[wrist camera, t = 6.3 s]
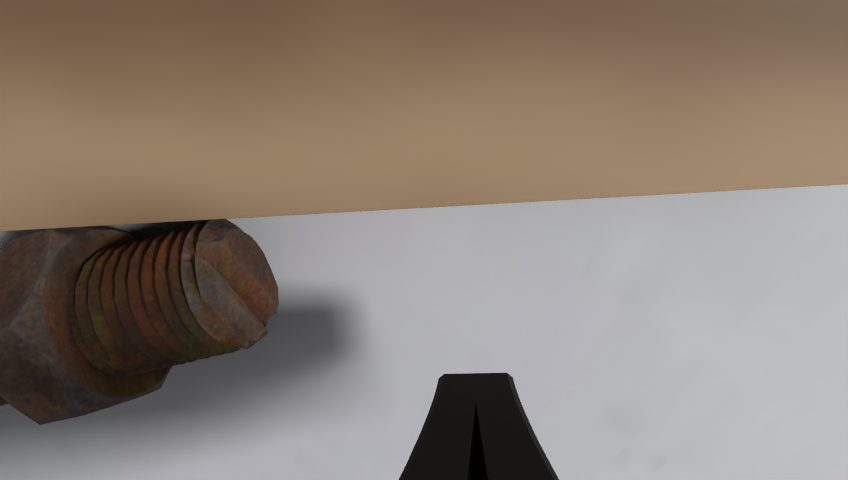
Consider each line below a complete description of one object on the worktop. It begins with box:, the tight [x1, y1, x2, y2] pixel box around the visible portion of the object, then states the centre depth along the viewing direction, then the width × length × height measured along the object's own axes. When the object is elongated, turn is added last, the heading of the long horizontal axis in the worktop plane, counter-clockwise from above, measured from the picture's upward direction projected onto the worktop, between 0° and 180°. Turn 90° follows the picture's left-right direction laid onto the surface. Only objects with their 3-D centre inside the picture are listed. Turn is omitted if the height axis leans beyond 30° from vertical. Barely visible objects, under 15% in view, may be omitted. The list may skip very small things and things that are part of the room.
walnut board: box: [0, 0, 848, 231], centre depth 9 cm, size 8×24×2 cm, turn 95°
